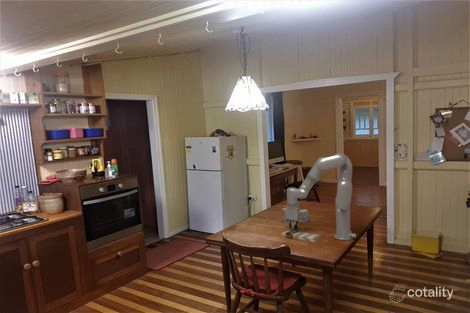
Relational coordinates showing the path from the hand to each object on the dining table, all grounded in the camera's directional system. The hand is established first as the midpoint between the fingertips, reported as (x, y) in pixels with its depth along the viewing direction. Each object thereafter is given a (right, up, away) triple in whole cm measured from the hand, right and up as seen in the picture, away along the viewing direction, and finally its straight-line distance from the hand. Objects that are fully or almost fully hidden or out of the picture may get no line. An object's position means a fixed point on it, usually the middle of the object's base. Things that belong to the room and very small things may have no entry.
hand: (293, 228), depth 243 cm
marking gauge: (0, -5, 0) cm, 5 cm away
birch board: (+5, -5, -3) cm, 8 cm away
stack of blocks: (+8, -2, +33) cm, 34 cm away
